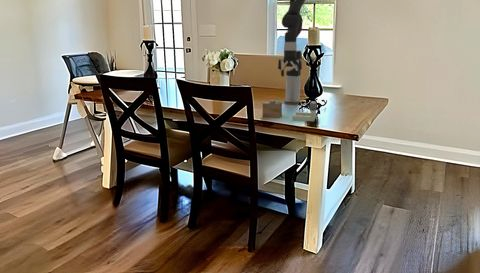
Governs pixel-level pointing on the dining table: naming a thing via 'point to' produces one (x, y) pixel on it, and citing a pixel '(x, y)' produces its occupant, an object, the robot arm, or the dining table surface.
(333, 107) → the dining table surface
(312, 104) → the knob
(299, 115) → the mount
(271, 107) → the slider block
